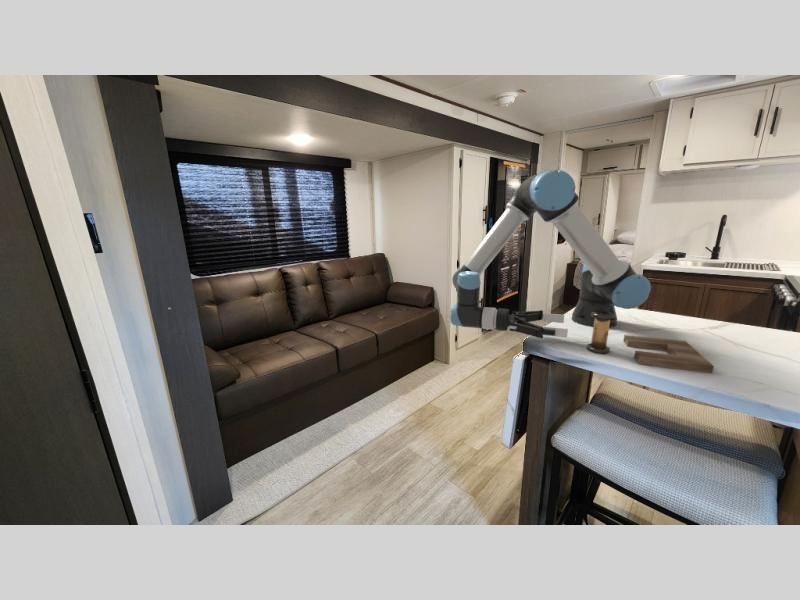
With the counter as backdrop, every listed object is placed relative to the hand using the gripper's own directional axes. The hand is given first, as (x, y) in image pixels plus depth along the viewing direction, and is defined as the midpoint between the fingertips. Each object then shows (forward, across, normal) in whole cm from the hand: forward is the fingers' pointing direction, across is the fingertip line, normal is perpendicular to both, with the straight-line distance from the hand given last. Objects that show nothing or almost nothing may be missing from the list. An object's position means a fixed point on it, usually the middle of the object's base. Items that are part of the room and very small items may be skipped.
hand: (565, 325), depth 101 cm
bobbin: (+10, 0, -7) cm, 12 cm away
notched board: (+27, -2, -7) cm, 28 cm away
